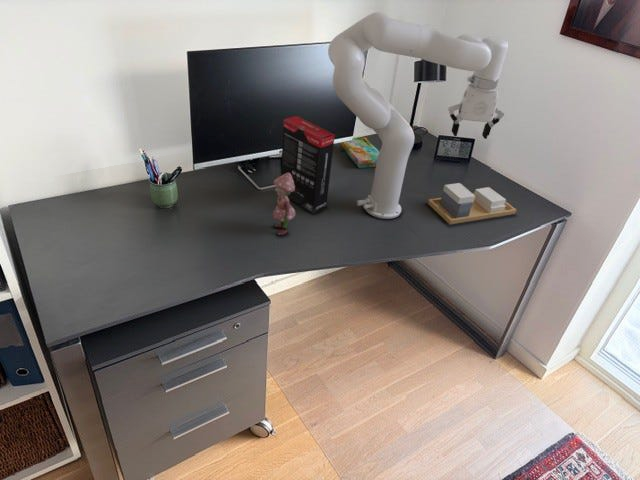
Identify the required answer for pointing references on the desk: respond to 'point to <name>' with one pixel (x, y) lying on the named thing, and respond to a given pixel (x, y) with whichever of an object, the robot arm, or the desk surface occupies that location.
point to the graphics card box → (307, 162)
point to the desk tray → (475, 213)
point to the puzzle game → (361, 152)
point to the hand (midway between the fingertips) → (469, 135)
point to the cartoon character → (284, 201)
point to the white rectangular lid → (459, 193)
